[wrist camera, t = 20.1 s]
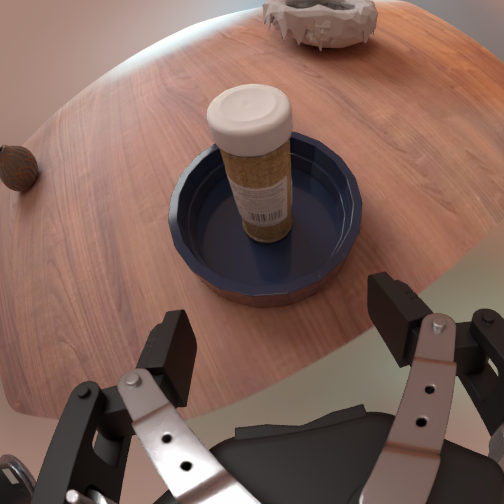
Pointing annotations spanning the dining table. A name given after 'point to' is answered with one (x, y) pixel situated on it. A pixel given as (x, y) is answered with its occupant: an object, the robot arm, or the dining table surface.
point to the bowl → (322, 21)
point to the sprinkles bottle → (256, 156)
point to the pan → (267, 254)
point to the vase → (17, 167)
